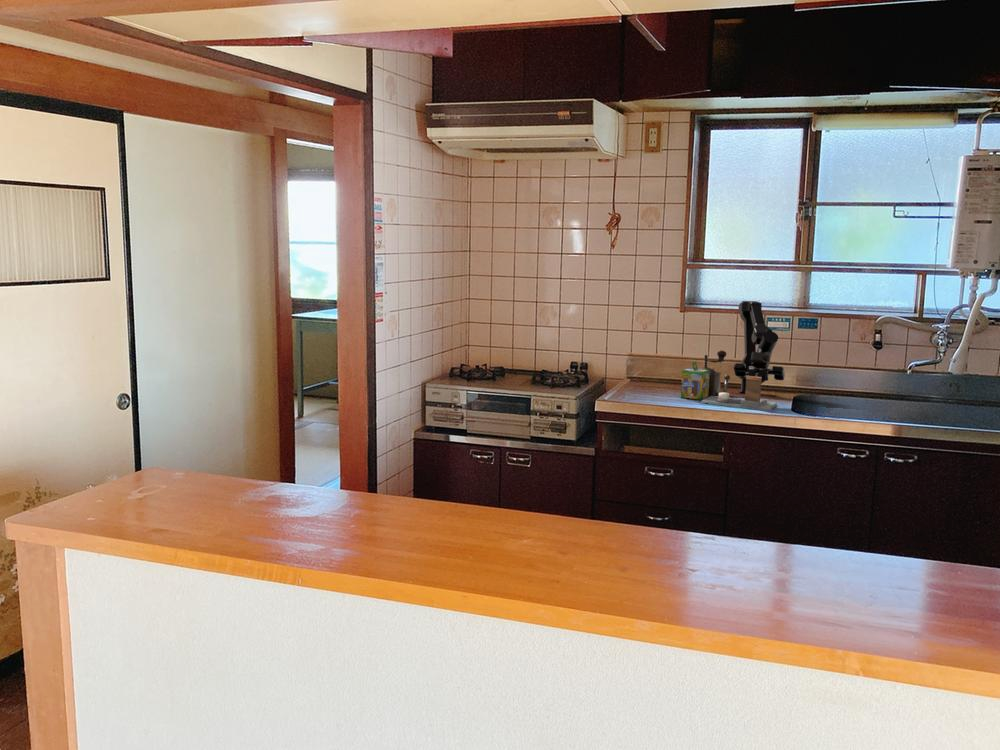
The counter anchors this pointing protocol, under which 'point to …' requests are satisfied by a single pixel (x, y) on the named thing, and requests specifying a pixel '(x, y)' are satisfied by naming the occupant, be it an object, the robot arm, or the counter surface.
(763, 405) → the control board
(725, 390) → the dark gray metallic lever
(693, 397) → the chalk box
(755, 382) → the brown tall rectangular block
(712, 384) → the grey knobbed device
